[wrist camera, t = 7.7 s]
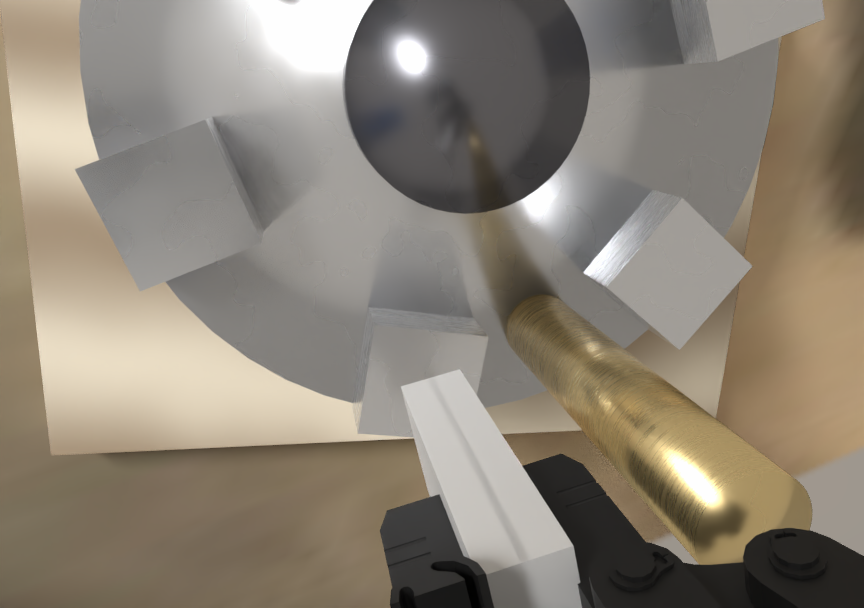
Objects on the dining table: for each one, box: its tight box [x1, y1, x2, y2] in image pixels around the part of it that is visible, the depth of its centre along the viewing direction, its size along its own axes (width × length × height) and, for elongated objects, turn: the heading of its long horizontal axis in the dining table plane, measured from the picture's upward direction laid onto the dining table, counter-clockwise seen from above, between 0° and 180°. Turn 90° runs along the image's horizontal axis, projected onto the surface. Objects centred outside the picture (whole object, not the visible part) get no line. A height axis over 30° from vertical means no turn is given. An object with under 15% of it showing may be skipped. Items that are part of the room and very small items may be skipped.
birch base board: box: [0, 0, 782, 455], centre depth 23 cm, size 24×24×2 cm
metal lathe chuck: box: [75, 0, 825, 565], centre depth 15 cm, size 18×18×14 cm
